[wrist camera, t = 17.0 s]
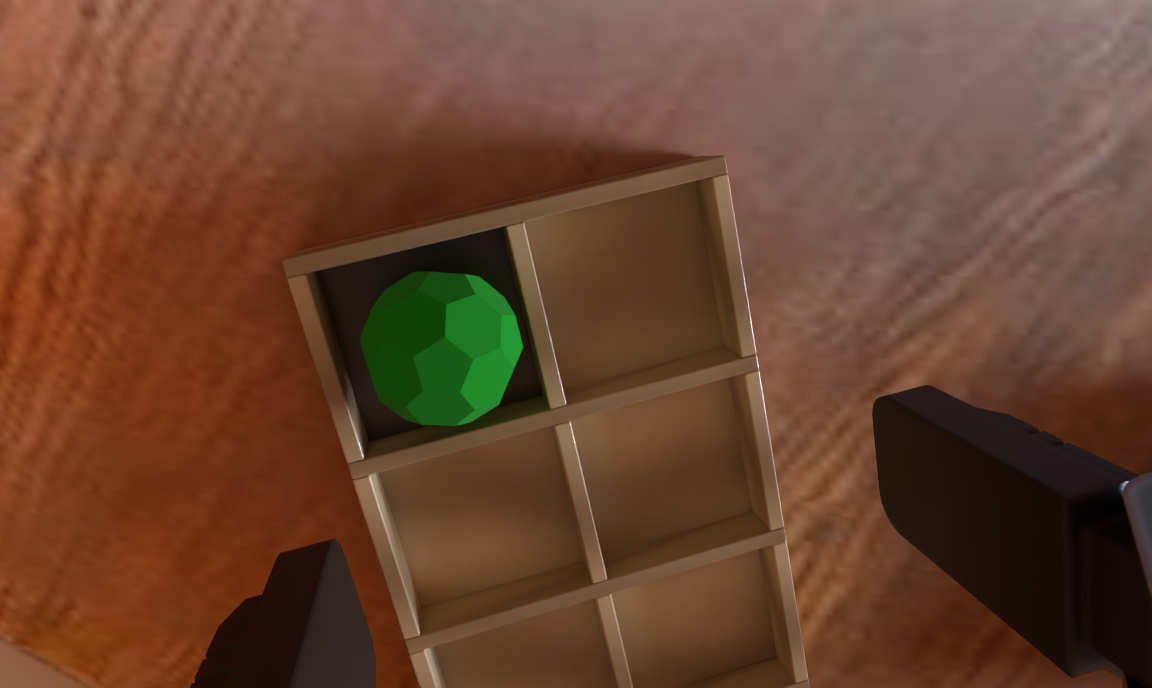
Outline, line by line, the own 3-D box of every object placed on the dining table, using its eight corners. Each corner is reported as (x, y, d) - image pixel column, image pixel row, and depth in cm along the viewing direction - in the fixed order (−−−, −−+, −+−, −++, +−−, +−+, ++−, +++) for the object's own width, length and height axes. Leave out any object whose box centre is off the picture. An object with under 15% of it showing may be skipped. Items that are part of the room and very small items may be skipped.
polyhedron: (420, 425, 27) (416, 479, 22) (339, 311, 26) (317, 343, 21) (539, 351, 27) (560, 390, 23) (465, 232, 26) (471, 248, 21)
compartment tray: (294, 251, 26) (280, 260, 23) (701, 155, 27) (725, 155, 25) (456, 759, 31) (457, 807, 29) (785, 655, 33) (811, 691, 31)
